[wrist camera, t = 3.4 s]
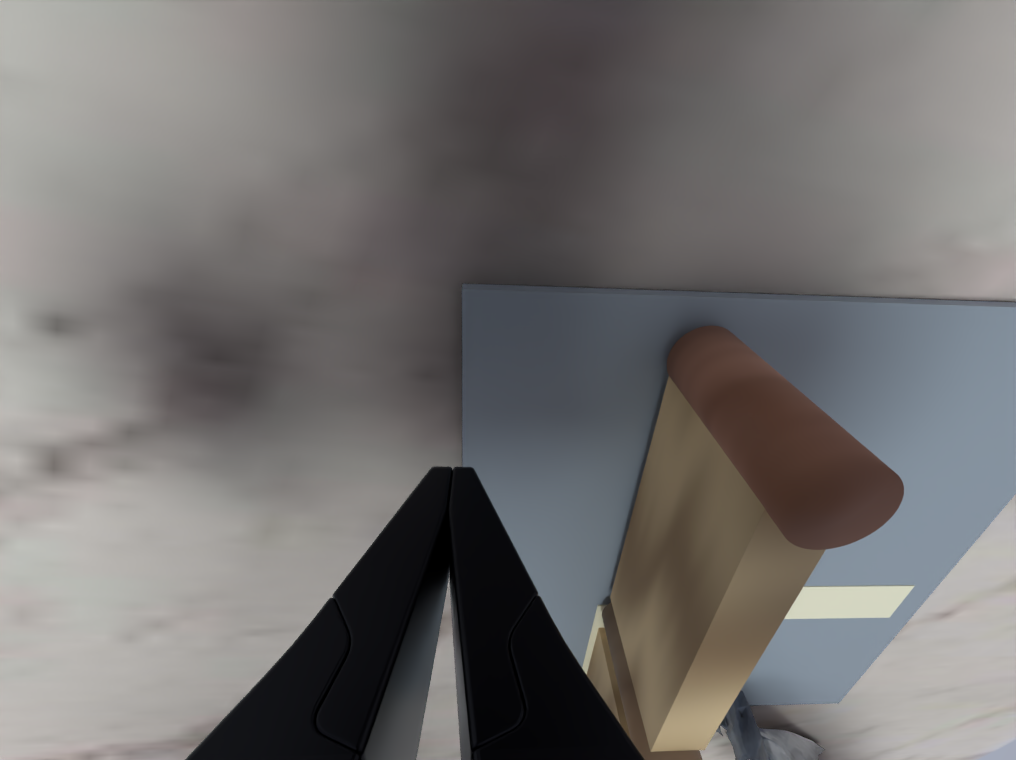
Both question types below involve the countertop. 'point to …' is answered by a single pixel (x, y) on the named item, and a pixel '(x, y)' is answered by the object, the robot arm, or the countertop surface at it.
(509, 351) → the board
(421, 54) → the countertop surface
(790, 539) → the rail
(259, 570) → the countertop surface
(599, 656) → the fixed fence rail
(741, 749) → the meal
